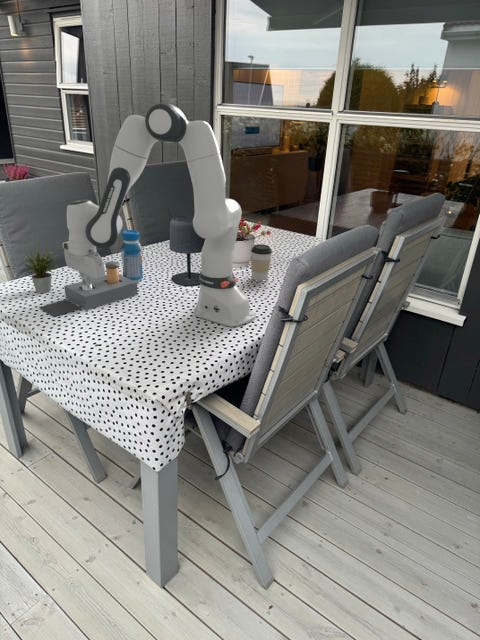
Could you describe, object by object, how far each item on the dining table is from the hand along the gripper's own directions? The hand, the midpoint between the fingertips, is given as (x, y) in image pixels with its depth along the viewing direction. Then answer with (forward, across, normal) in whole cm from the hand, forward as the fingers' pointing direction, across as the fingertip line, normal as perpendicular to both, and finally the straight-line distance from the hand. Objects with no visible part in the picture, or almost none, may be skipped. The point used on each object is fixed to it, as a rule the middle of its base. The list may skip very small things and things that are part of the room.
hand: (86, 284), depth 163 cm
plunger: (+6, 0, 0) cm, 6 cm away
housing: (+6, 0, -6) cm, 9 cm away
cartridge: (+6, 0, -11) cm, 13 cm away
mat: (+6, 0, +11) cm, 13 cm away
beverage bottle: (+7, +8, -26) cm, 28 cm away
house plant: (+7, +18, +8) cm, 21 cm away
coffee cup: (+6, -27, -67) cm, 73 cm away
